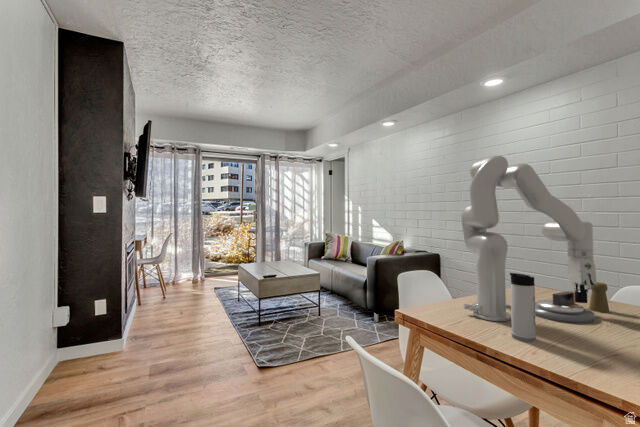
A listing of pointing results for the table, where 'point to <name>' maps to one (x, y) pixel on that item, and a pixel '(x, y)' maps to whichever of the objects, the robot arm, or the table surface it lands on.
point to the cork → (599, 298)
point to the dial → (562, 303)
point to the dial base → (566, 316)
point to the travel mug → (523, 307)
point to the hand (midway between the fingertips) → (581, 302)
